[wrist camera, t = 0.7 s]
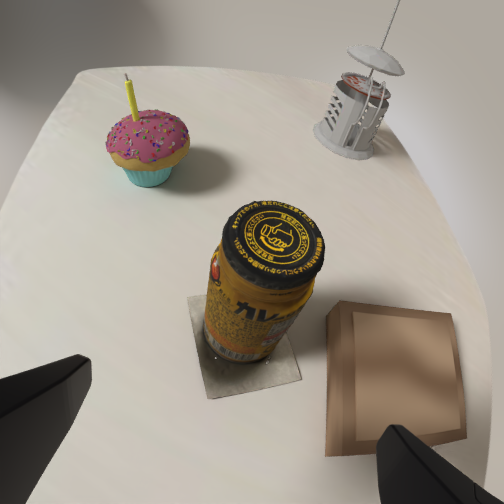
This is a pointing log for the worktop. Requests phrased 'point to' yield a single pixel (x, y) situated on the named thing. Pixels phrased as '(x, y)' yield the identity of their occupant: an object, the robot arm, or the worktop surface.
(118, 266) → the worktop surface
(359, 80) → the french press
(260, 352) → the condiment
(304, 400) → the worktop surface
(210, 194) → the worktop surface
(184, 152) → the cupcake
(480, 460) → the worktop surface
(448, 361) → the walnut base
